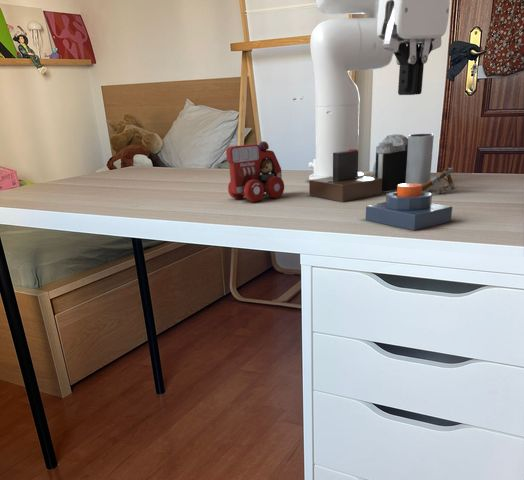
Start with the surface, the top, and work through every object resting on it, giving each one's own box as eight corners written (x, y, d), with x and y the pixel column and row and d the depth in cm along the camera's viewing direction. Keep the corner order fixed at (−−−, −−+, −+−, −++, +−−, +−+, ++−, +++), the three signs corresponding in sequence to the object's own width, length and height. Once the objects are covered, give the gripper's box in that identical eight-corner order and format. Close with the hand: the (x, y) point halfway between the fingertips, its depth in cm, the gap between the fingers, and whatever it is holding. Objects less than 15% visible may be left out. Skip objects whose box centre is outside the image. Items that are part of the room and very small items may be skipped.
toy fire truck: (292, 195, 106) (290, 140, 102) (242, 205, 100) (238, 146, 95) (270, 191, 111) (268, 139, 107) (222, 200, 105) (217, 145, 100)
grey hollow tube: (416, 194, 100) (420, 136, 96) (400, 191, 104) (403, 135, 99) (434, 191, 102) (439, 134, 98) (417, 188, 106) (421, 133, 101)
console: (309, 195, 105) (309, 179, 104) (347, 188, 110) (347, 173, 108) (342, 201, 98) (342, 184, 96) (381, 194, 102) (382, 177, 101)
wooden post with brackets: (460, 186, 100) (454, 164, 97) (425, 208, 100) (418, 186, 97) (455, 185, 101) (449, 163, 99) (419, 206, 101) (412, 185, 99)
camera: (401, 179, 117) (404, 131, 112) (428, 182, 112) (432, 131, 108) (358, 189, 108) (359, 137, 104) (385, 192, 103) (388, 138, 99)
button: (391, 197, 80) (392, 185, 80) (408, 193, 82) (408, 182, 81) (409, 200, 78) (410, 187, 77) (426, 196, 79) (427, 184, 78)
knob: (338, 180, 101) (338, 151, 98) (332, 180, 102) (332, 151, 100) (357, 177, 103) (358, 149, 101) (352, 176, 104) (352, 148, 102)
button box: (365, 220, 83) (366, 194, 82) (401, 212, 87) (402, 187, 85) (414, 230, 76) (416, 202, 74) (450, 221, 79) (453, 194, 78)
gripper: (436, -48, 77) (424, 92, 85) (359, -55, 70) (354, 97, 78) (480, -60, 71) (463, 91, 80) (401, -69, 64) (391, 97, 73)
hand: (409, 94), depth 79 cm, fingers closed
